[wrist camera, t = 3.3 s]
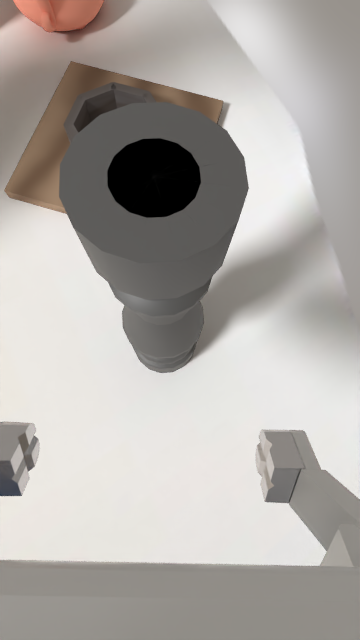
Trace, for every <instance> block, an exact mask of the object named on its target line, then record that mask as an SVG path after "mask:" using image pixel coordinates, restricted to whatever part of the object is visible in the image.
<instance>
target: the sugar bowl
mask: <svg viewBox="0 0 360 640" xmlns="http://www.w3.org/2000/svg"><path fill="white" fill-rule="evenodd" d="M13 1H14V3H15V5H16V6H17V8H18V9H19V10H20V11H21V13H22V14H24V15H25V16H26V17H27V18H28V19H30V20H31V21H33V22H34V23H36V24H37V25H39V26H41V27H43V29H44V30H45V31H47V32H53V31H69V30H74V29H77V30H80V29H83V28H85V26H86V24H88V23H89V22H91V21H92V20H93V19H94V18H95V16H96V15H97V13H98V12H99V10H100V8H101V6H102V4H103V2H104V0H13Z"/></svg>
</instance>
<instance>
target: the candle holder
mask: <svg viewBox="0 0 360 640" xmlns="http://www.w3.org/2000/svg"><path fill="white" fill-rule="evenodd" d="M248 189H249V187H248V181H247V174H246V167H245V161H244V157H243V155H242V154H241V152H240V150H239V149H238V147H237V146H236V144H235V143H234V141H233V140H232V138H231V137H230V135H229V134H228V132H227V131H226V130H225V129H223V128H222V127H221V126H219V125H218V124H216V123H215V122H214V121H212V120H211V119H209V118H208V117H206V116H205V115H204V114H202V113H201V112H199V111H196V110H192V109H189V108H185V107H182V106H178V105H175V104H171V103H168V102H155V103H131V104H128V105H126V106H123V107H120V108H117V109H115V110H112V111H109V112H106V113H104V114H101V115H99V116H98V117H97V118H96V119H94V120H93V121H92V122H91V123H90V124H88V125H87V126H86V127H85V128H84V129H82V130H81V131H80V132H79V133H78V134H76V135H75V136H74V138H73V140H72V142H71V144H70V146H69V148H68V150H67V152H66V153H65V155H64V157H63V159H62V161H61V163H60V175H59V198H60V200H61V202H62V204H63V206H64V208H65V211H66V213H67V215H68V217H69V219H70V221H71V223H72V225H73V228H74V229H75V231H76V233H77V235H78V237H79V239H80V241H81V243H82V245H83V247H84V249H85V251H86V252H87V254H88V256H89V258H90V260H91V262H92V264H93V266H94V268H95V270H96V272H97V273H98V274H99V275H101V276H102V277H103V278H104V279H105V280H106V281H108V283H109V285H110V287H111V289H112V291H113V293H114V295H115V297H116V298H117V299H118V300H119V301H120V302H122V303H123V304H124V305H125V306H124V308H123V311H122V319H123V329H124V331H125V333H126V335H127V337H128V339H129V342H130V343H131V344H132V346H133V348H134V350H135V352H136V354H137V356H138V358H139V360H140V361H141V362H142V363H143V364H144V365H145V366H146V367H147V368H149V369H150V370H153V371H156V372H159V373H167V372H174V371H176V370H178V369H180V368H182V367H184V365H185V364H186V363H187V362H188V361H189V360H190V358H191V357H192V354H193V352H194V349H195V346H196V343H197V340H198V339H199V336H200V333H201V330H202V327H203V324H204V318H203V307H202V305H201V303H200V301H199V300H200V299H201V298H202V297H203V296H204V295H205V294H206V293H207V291H208V288H209V285H210V282H211V279H212V276H213V275H214V274H215V273H216V271H217V270H218V269H219V268H220V267H221V266H222V264H223V261H224V259H225V256H226V253H227V250H228V248H229V245H230V242H231V239H232V237H233V234H234V231H235V228H236V226H237V223H238V220H239V217H240V214H241V211H242V208H243V205H244V201H245V198H246V195H247V192H248Z"/></svg>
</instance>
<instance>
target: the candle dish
mask: <svg viewBox="0 0 360 640" xmlns="http://www.w3.org/2000/svg"><path fill="white" fill-rule="evenodd" d="M155 102H168V103H171V104H175V105H178V106H182V107H185V108H189V109H192V110H196V111H199V112H201V113H202V114H204V115H205V116H206V117H208V118H209V119H211V120H212V121H214V122H215V123H216V124H217V122H218V119H219V116H220V113H221V110H222V105H223V101H222V100H218V99H214V98H210V97H206V96H202V95H199V94H195V93H191V92H187V91H183V90H179V89H175V88H172V87H168V86H164V85H160V84H156V83H152V82H149V81H145V80H141V79H137V78H133V77H129V76H126V75H122V74H118V73H114V72H110V71H106V70H103V69H99V68H95V67H91V66H87V65H83V64H80V63H76V62H72V61H71V62H70V64H69V66H68V68H67V70H66V72H65V74H64V76H63V78H62V80H61V82H60V84H59V85H58V87H57V89H56V91H55V93H54V95H53V97H52V99H51V101H50V103H49V105H48V107H47V109H46V111H45V113H44V115H43V116H42V118H41V120H40V122H39V124H38V126H37V128H36V130H35V132H34V134H33V136H32V138H31V140H30V142H29V144H28V145H27V147H26V149H25V151H24V153H23V155H22V157H21V159H20V161H19V163H18V165H17V167H16V169H15V171H14V173H13V175H12V176H11V178H10V180H9V182H8V184H7V186H6V188H5V190H4V191H5V192H6V194H7V195H8V196H9V197H10V198H13V199H17V200H20V201H24V202H27V203H31V204H34V205H38V206H41V207H45V208H48V209H52V210H55V211H59V212H62V213H66V211H65V208H64V206H63V204H62V202H61V200H60V198H59V175H60V163H61V161H62V159H63V157H64V155H65V153H66V152H67V150H68V148H69V146H70V144H71V142H72V140H73V138H74V136H75V135H76V134H78V133H79V132H80V131H81V130H82V129H84V128H85V127H86V126H87V125H88V124H90V123H91V122H92V121H93V120H94V119H96V118H97V117H98V116H99V115H101V114H104V113H106V112H109V111H112V110H115V109H117V108H120V107H123V106H126V105H128V104H131V103H155ZM66 214H67V213H66Z"/></svg>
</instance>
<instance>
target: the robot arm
mask: <svg viewBox="0 0 360 640" xmlns="http://www.w3.org/2000/svg"><path fill="white" fill-rule="evenodd" d="M35 432H36V428H35V425H34V424H33V423H20V422H0V496H22V494H23V492H24V490H25V487H26V485H27V483H28V481H29V474H28V471H30V470H31V469H32V468H33V467H35V464H36V462H37V459H38V455H39V440H38V438H36V437H35V436H34V434H35ZM259 439H260V443H259V444H258V445H257V448H256V466H257V471H258V473H259V474H260V475H261V476H262V480H261V488H262V492H263V496H264V501H265V502H276V503H289V505H290V506H291V508H292V509H293V510H294V511H295V512H296V514H297V515H298V516H299V517H300V519H301V520H302V521H303V522H304V524H305V525H306V526H307V527H308V529H309V530H310V531H311V532H312V533H313V535H314V536H315V537H316V538H317V540H318V541H319V542H320V543H321V545H322V546H323V547H324V548H325V550H326V551H327V552H326V554H325V556H324V558H323V560H322V562H321V564H320V566H290V565H240V564H190V563H140V562H87V561H36V560H0V640H360V499H358V498H357V497H356V496H355V495H354V494H353V493H351V492H350V491H349V490H348V489H347V488H346V487H345V486H343V485H342V484H341V483H340V482H339V481H338V480H336V479H335V478H334V477H333V476H332V475H331V474H330V473H328V472H327V471H326V470H321V468H320V466H319V463H318V461H317V459H316V456H315V454H314V452H313V449H312V447H311V445H310V442H309V440H308V438H307V435H306V433H305V432H304V431H303V430H261V431H260V435H259Z"/></svg>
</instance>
